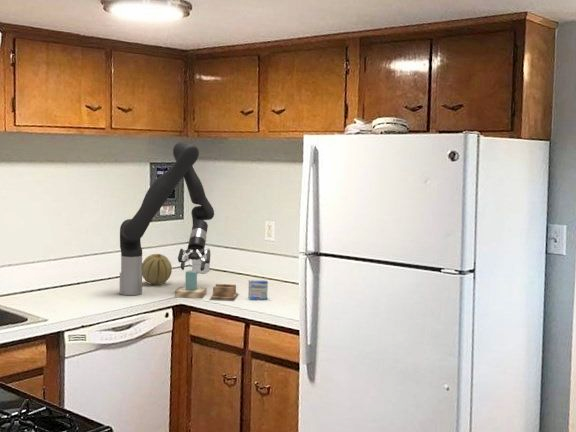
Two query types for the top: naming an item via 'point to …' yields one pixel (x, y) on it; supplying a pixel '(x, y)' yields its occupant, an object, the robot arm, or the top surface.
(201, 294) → the light wooden block
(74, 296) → the top surface
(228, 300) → the mat
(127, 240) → the robot arm
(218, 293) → the brown wooden box
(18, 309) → the top surface
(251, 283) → the medicine box
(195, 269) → the supplement box
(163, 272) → the cantaloupe
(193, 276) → the teal block
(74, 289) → the top surface
